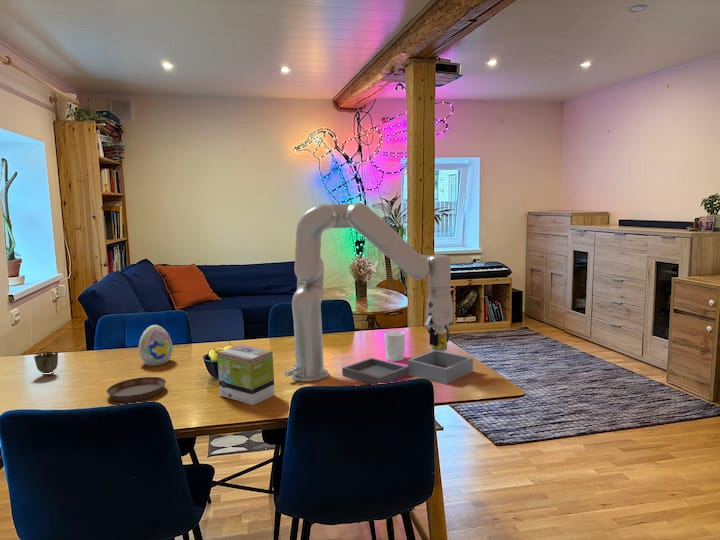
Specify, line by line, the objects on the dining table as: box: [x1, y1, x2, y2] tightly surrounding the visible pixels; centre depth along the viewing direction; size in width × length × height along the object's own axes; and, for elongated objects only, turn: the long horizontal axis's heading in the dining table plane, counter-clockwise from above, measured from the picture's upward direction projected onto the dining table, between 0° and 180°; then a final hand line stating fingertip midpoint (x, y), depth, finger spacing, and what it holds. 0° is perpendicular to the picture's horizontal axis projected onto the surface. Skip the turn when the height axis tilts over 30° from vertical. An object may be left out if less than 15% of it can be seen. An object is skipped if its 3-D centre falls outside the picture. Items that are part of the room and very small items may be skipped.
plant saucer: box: [106, 376, 167, 403], centre depth 165 cm, size 18×18×3 cm
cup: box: [33, 351, 59, 377], centre depth 186 cm, size 8×7×8 cm
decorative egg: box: [138, 324, 174, 367], centre depth 197 cm, size 12×12×15 cm
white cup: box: [383, 330, 406, 362], centre depth 193 cm, size 8×8×10 cm
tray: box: [341, 357, 409, 385], centre depth 175 cm, size 15×17×3 cm
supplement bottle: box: [431, 323, 448, 352], centre depth 174 cm, size 5×5×10 cm
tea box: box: [216, 344, 275, 406], centre depth 159 cm, size 15×10×15 cm, turn 56°
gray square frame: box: [407, 350, 474, 385], centre depth 176 cm, size 16×16×5 cm
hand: (439, 342), depth 175 cm, fingers closed on supplement bottle, 5 cm apart
